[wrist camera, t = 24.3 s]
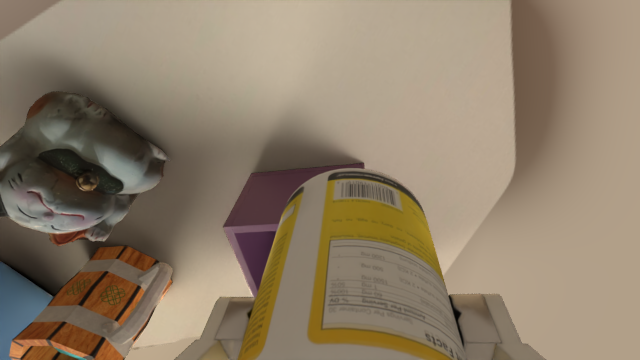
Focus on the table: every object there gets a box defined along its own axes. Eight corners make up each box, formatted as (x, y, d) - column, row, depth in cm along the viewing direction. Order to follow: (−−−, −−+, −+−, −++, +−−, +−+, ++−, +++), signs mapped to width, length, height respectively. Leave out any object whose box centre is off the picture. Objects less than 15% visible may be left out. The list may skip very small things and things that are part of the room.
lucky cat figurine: (192, 175, 40) (116, 279, 33) (139, 168, 46) (66, 255, 40) (87, 75, 30) (-55, 197, 23) (37, 84, 36) (-87, 182, 29)
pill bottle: (299, 270, 17) (225, 654, 8) (269, 167, 14) (61, 632, 4) (425, 264, 16) (524, 710, 6) (425, 152, 13) (642, 746, 3)
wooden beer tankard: (138, 307, 58) (78, 399, 46) (74, 261, 53) (-14, 351, 40) (215, 275, 51) (168, 374, 38) (150, 217, 45) (70, 311, 33)
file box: (251, 173, 39) (222, 227, 31) (364, 162, 37) (365, 218, 29) (283, 271, 49) (268, 332, 40) (375, 268, 46) (378, 333, 38)
